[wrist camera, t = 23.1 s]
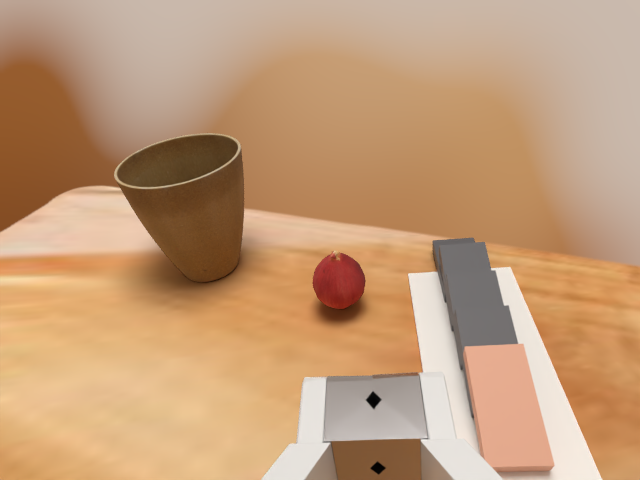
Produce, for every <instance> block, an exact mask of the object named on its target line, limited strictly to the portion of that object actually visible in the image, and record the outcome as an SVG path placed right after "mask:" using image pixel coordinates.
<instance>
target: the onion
mask: <svg viewBox="0 0 640 480" xmlns="http://www.w3.org/2000/svg"><path fill="white" fill-rule="evenodd" d="M364 287H365V276H364V273H363V271H362V269H361V267H360V265H359V264H358V263H357V262H356V261H355V260H354V259H353V258H351V257H349V256H348V255H345V254H343V253H340V252H339V251H333V252H332V254H330V255H328V256H327V257H325V258H324V259H323V260H322V261H321V262H320V263H319V265H318V266H317V267H316V269H315V272H314V276H313V288H314V290H315V292H316V295H317V298H318V299H319V300H320V301H321V302H322V303H324V304H325V305H326V306H329V307H332V308H336V309H345V308H347V307H349V306H350V305H352V304H354V303H356V302H357V301H358V300H359V299H360V297H361V296H362V294H363V293H364Z"/></svg>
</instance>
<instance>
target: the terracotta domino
mask: <svg viewBox="0 0 640 480" xmlns="http://www.w3.org/2000/svg"><path fill="white" fill-rule="evenodd" d="M463 357H464V363H465V368H466V374H467V380H468V385H469V391H470V397H471V403H472V408H473V414H474V420H475V425H476V431H477V437H478V442H479V448H480V454H481V456H482V457H483V458H484V460H485V461H486V462H487V463H488V464H489V465H490V466H491V467H492V468H493V469H494V470H495V471H496V472H525V471H550V470H551V469H552V468H553V467H554V466H555V465H554V461H553V457H552V453H551V449H550V445H549V441H548V437H547V434H546V430H545V426H544V422H543V418H542V414H541V410H540V406H539V402H538V399H537V395H536V391H535V387H534V383H533V379H532V375H531V371H530V367H529V364H528V360H527V356H526V352H525V348H524V344H506V345H486V346H465V347H464V352H463Z"/></svg>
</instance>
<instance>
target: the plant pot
mask: <svg viewBox="0 0 640 480" xmlns="http://www.w3.org/2000/svg"><path fill="white" fill-rule="evenodd" d="M114 177H115V179H116V181H117V183H118V185H119V186H120V188H121V190H122V192H123V193H124V195H125V197H126V198H127V200H128V202H129V203H130V205H131V207H132V209H133V210H134V212H135V213H136V215H137V216H138V218H139V219H140V221H141V223H142V224H143V225H144V227H145V228H146V230H147V231H148V233H149V234H150V235H151V237H152V238H153V239H154V241H155V242H156V243H157V244H158V246H159V247H160V248H161V250H162V251H163V252H164V253H165V254H166V256H167V257H168V258H169V259H170V260H171V261H172V262H173V263H174V265H175V266H176V267H177V268H178V269H179V270H180V271H181V272H182V273H183V274H184V275H185V276H186V277H187V278H188V279H190V280H192V281H196V282H209V281H213V280H217V279H220V278H222V277H224V276H226V275H228V274H229V273H230V272H232V271H233V270H234V269H235V267H236V266H237V264H238V260H239V255H240V248H241V241H242V232H243V219H244V177H243V163H242V153H241V145H240V143H239V141H238V140H236V139H235V138H233V137H231V136H227V135H223V134H211V133H207V134H193V135H186V136H181V137H176V138H172V139H168V140H164V141H161V142H158V143H155V144H152V145H150V146H148V147H145V148H143V149H141V150H139V151H137V152H135V153H133V154H132V155H130V156H128V157H127V158H126V159H124V160H123V161H122V162H121V163H120V164H119V165H118V167H117V168H116V170H115V173H114Z"/></svg>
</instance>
